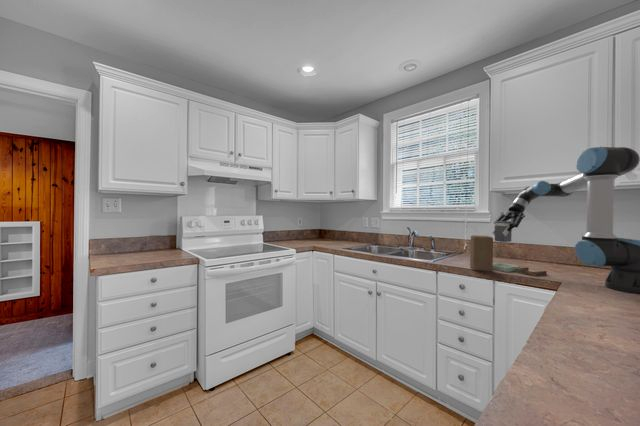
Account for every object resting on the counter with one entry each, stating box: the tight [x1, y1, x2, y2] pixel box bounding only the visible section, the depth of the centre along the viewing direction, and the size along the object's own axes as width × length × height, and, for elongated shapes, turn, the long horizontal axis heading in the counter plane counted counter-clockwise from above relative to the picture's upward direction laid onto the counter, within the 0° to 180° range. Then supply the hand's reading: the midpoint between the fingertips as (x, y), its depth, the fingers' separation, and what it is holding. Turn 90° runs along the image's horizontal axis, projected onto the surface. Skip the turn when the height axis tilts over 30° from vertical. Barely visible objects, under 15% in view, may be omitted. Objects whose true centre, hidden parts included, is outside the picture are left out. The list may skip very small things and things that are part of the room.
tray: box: [493, 262, 521, 273], centre depth 168 cm, size 12×12×2 cm
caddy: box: [494, 220, 513, 243], centre depth 168 cm, size 6×6×12 cm
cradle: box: [514, 266, 547, 277], centre depth 158 cm, size 10×10×2 cm
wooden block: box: [469, 234, 494, 273], centre depth 166 cm, size 10×10×20 cm
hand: (498, 234), depth 167 cm, fingers closed on caddy, 6 cm apart
